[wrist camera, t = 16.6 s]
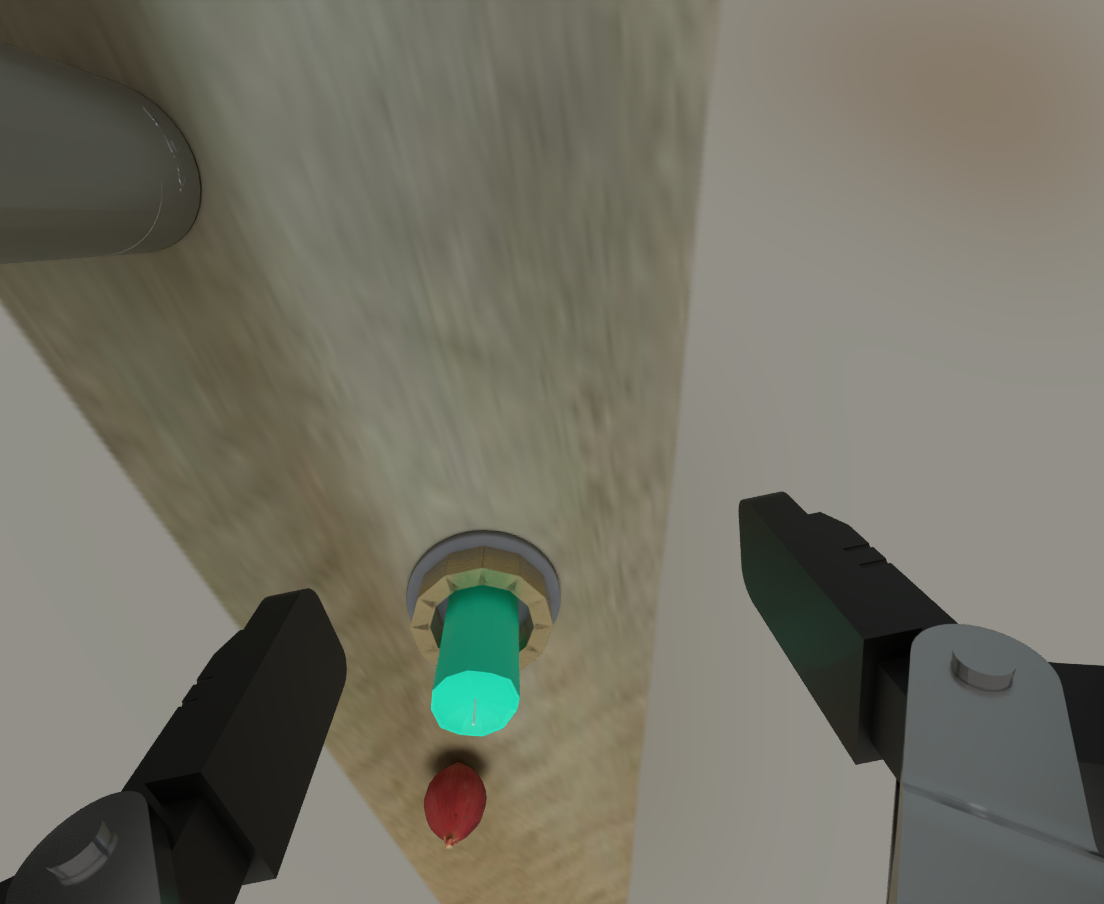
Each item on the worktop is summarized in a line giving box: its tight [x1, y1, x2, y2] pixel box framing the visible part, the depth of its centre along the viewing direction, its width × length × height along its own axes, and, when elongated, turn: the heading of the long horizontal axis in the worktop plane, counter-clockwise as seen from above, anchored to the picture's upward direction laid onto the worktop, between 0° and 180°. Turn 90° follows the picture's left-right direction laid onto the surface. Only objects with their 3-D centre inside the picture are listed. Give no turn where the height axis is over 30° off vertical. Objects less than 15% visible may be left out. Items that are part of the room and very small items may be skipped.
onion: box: [424, 762, 487, 849], centre depth 51 cm, size 6×6×8 cm
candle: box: [431, 585, 520, 736], centre depth 40 cm, size 6×6×12 cm
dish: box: [406, 531, 560, 626], centre depth 46 cm, size 13×13×1 cm
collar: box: [410, 546, 553, 671], centre depth 44 cm, size 11×11×3 cm
